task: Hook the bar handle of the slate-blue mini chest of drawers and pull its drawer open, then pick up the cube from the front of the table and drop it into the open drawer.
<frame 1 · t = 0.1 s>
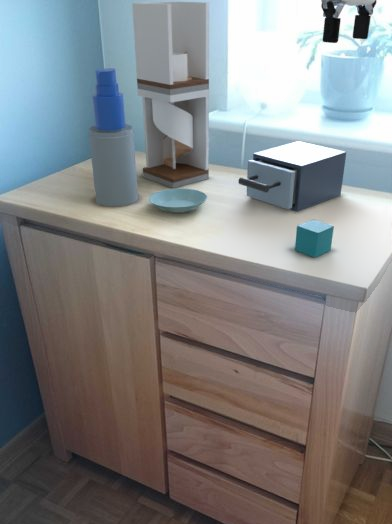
hand: (345, 40, 108), 29 cm above the table, tool pointing down, fingers open, 9 cm apart
drawer: (281, 180, 114), point 5 cm above the table, slide at 1.0 cm
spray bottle: (117, 200, 119), on the table
saucer: (178, 208, 114), on the table
cube: (312, 250, 96), on the table
mini chest of drawers: (295, 196, 120), on the table
spiral staircase model: (175, 178, 131), on the table
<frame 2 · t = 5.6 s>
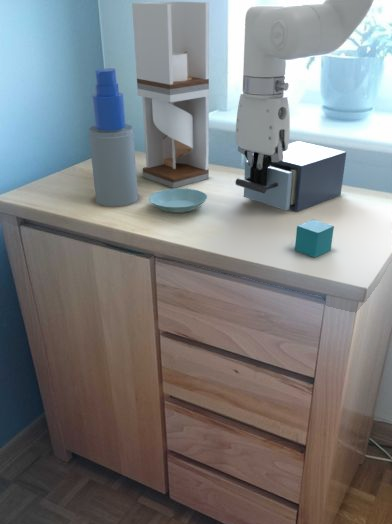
hand: (257, 187, 110), 5 cm above the table, tool pointing down, fingers closed
drawer: (279, 181, 114), point 5 cm above the table, slide at 1.8 cm
everything else where it was.
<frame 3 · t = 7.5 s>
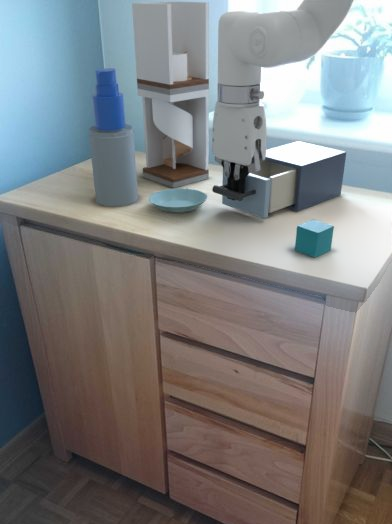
hand: (235, 197, 107), 4 cm above the table, tool pointing down, fingers closed
drawer: (258, 187, 110), point 5 cm above the table, slide at 8.2 cm, touching gripper
everything else where it was.
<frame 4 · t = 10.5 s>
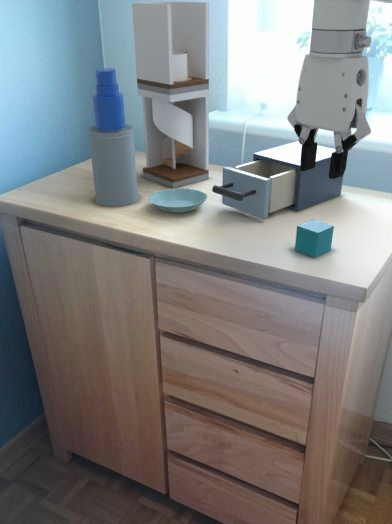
hand: (321, 172, 89), 13 cm above the table, tool pointing down, fingers open, 4 cm apart
drawer: (257, 187, 110), point 5 cm above the table, slide at 8.2 cm
everything else where it was.
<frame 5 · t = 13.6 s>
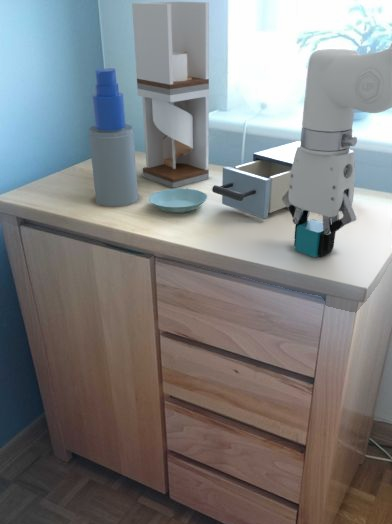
hand: (312, 248, 96), 0 cm above the table, tool pointing down, fingers closed on cube, 4 cm apart
cube: (312, 250, 96), on the table, touching gripper
everything else where it was.
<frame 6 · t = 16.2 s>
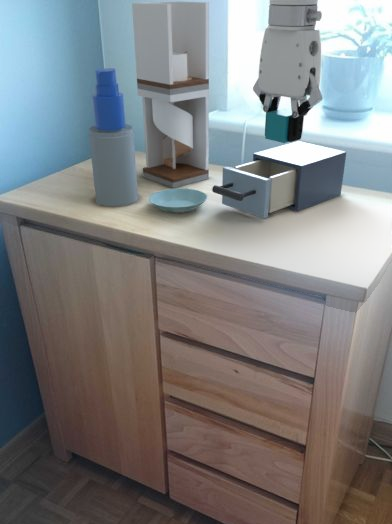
hand: (282, 136, 99), 16 cm above the table, tool pointing down, fingers closed on cube, 4 cm apart
cube: (282, 138, 99), point 15 cm above the table, touching gripper
everything else where it was.
when the fingers open (7 cm above the table, at t = 19.8 s): cube stays where it is, resting on drawer.
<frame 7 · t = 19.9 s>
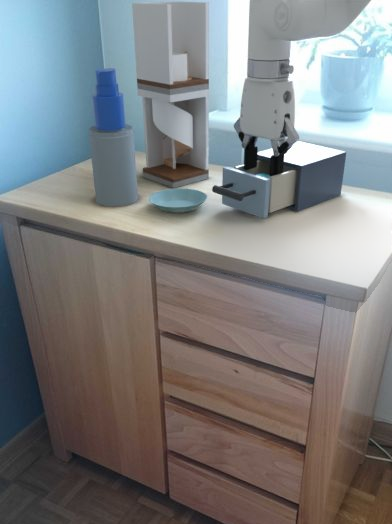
hand: (263, 171, 109), 8 cm above the table, tool pointing down, fingers open, 6 cm apart
drawer: (257, 187, 110), point 5 cm above the table, slide at 8.2 cm, touching cube
cube: (261, 199, 112), point 2 cm above the table, touching drawer
everything else where it was.
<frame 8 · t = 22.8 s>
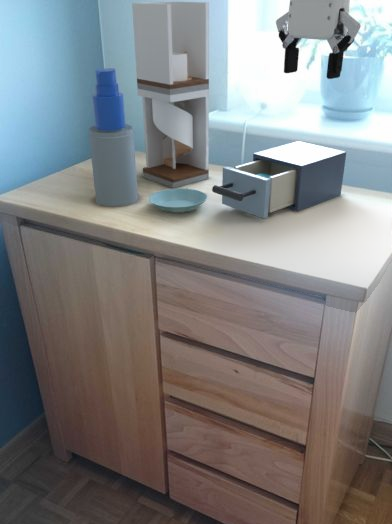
hand: (311, 75, 101), 24 cm above the table, tool pointing down, fingers open, 9 cm apart
nothing on the table moved.
at the end: drawer slide at 8.2 cm; cube inside the target area in the drawer (0.3 cm from its centre), point 2.0 cm above the mini chest of drawers's base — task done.
